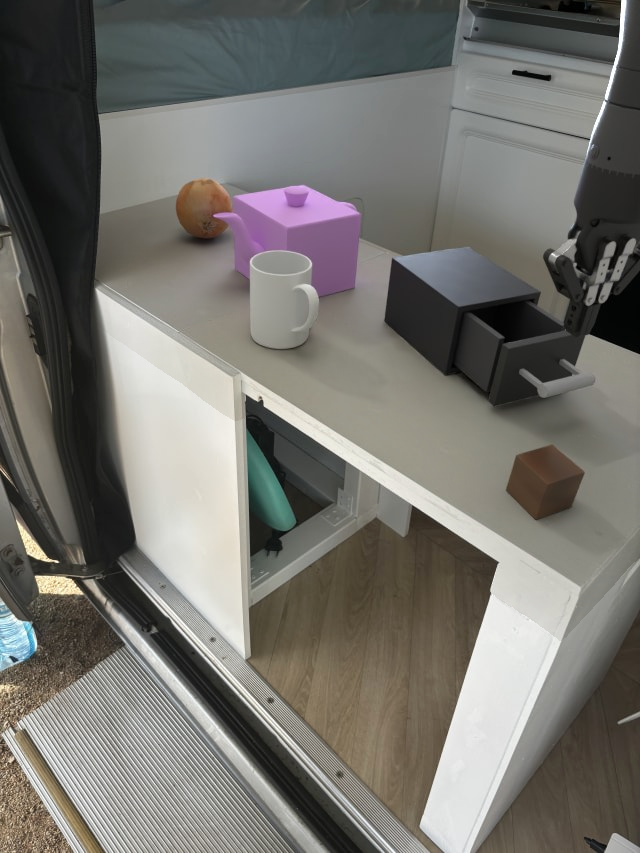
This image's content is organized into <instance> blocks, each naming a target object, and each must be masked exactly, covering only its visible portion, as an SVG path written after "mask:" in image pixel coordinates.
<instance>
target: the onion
mask: <svg viewBox="0 0 640 853" xmlns="http://www.w3.org/2000/svg"><path fill="white" fill-rule="evenodd" d="M175 213H176V216H177V219H178V222H179V224H180V225H181V227H182V228H183V229H184V230H185V231H186V232H187V233H188V234H190V235H191V236H194V237H196V238H197V239H213V238H216V237H218V236H220V235H222V233H224V232H225V231H226V230H227V229H228V228H229V227H230V226H229V224H227V223H226V222H225V221H223V220H221V219H219V218H216V217H214V216H213V215H215V214H218V213H233V201H232V199H231V196H230V194H229V193H228V191H227V190H226V189H225V188H224V187H223V186H222V185H221V184H220V183H218V182H217V181H216V180H214V179H212V178H207V177H200V178H197V179H194V180H191V181H189V182H187V183H185V184H184V185H183V186H182V187H181V188H180V190H179V192H178V194H177V196H176V200H175Z"/></svg>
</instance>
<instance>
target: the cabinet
mask: <svg viewBox="0 0 640 853" xmlns="http://www.w3.org/2000/svg"><path fill="white" fill-rule="evenodd" d="M389 271H390V272H389V279H388V288H387V295H386V303H385V311H384V319H383V320H384V322H385V323H386V324H387V325H388V326H389V327H390V328H392V330H394V331H395V332H396V333H397V334H398V335H399V336H400V337H401V338H403V339H404V340H405V341H406V343H408V344H409V345H410V346H412V347H413V348H414V349H415V350H416V351H417V352H419V353H420V355H422V356H423V357H424V358H425V359H426V360H427V361H428V362H429V363H431V365H433V366H434V367H435V368H436V369H437V370H438V371H439V372H440V373H442V374H443V376H448V375H453V374H458V373H461V372H462V371H461V370H460V369H459V368H458V367H456V366H455V365H454V364H453V363H452V362H453V357H454V352H455V347H456V342H457V337H458V332H459V327H460V323H461V318H462V313H463V312H465V311H470V310H475V309H481V308H486V307H491V306H497V305H502V304H507V303H513V302H518V301H524V300H529V301H531V302H532V303H534V304H535V305H537V306H538V305H539V300H540V298H541V293H542V291H540V290H539V289H537V288H536V287H534V286H532V285H531V284H529V283H528V282H526V281H525V280H523V279H521V278H520V277H518V276H516V275H515V274H513V273H512V272H510V271H508V270H506V269H505V268H503V267H502V266H500V265H498V264H497V263H495V262H494V261H492V260H490V259H488V258H487V257H485V256H484V255H482V254H480V253H479V252H477V251H476V250H475V249H472V248H471V247H469V246H464V247H457V248H449V249H444V250H443V249H442V250H436V251H428V252H421V253H420V252H419V253H414V254H413V253H412V254H408V255H407V254H406V255H401V256H400V255H399V256H392V257H391V264H390V270H389ZM462 373H463V372H462Z"/></svg>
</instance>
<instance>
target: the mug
mask: <svg viewBox="0 0 640 853" xmlns="http://www.w3.org/2000/svg"><path fill="white" fill-rule="evenodd" d="M311 277H312V262H311V260H310V259H309V258H308V257H306V256H304V255H302V254H299V253H296V252H291V251H282V250H278V251H266V252H262V253H259V254H257V255H255V256H254V257H252V258H251V260H250V280H249V309H250V310H249V312H250V313H249V316H250V317H249V318H250V320H249V322H250V336H251V339H253V341H254V343H257V344H258V345H260V346H262V347H265V348H269V349H273V350H274V349H275V350H287V349H292V348H293V349H294V348H297V347H299V346H301V345H302V344H304V343H306V342H307V340H308V339H309V335H310V328H312V327H313V325H314V324H315V323H316V321H317V319H318V315H319V311H320V297H318V294H317V292H316V290H315V289H314V287H312V286H311Z"/></svg>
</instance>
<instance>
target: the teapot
mask: <svg viewBox="0 0 640 853" xmlns="http://www.w3.org/2000/svg"><path fill="white" fill-rule="evenodd" d="M232 207H233V212H232V213H218V214H215V215H213V216H214V217H216V218H219V219H221V220H223V221H225V222H226V223H227V224H229V226H228V227H229V228H230V229H231V231H232V234H233V250H234V251H233V252H234V253H233V254H234V269H235V270H236V271H237V272H238V273H240V274H241V275H243V276H244V277H245V278H246V279H248V280H249V281H250V260H251V258H252V257H254V256H255V255H257V254H259V253H262V252H266V251H278V250H282V251H291V252H296V253H299V254H302V255H304V256H306V257H308V258H309V259H310V260H311V262H312V277H311V286H312V287H314V289H315V290H316V292H317V294H318V298H320V297H324V296H328V295H329V296H330V295H333V294H336V293H340V292H343V291H348V290H352V289H354V288H356V280H357V270H358V269H357V267H358V256H359V245H360V236H361V225H362V224H361V223H362V214H361V213H360V212H359V211H357V210H358V209H357V208H356V206H355V205H354V204H352V203H349V202H347V201H345V202H344V201H337V200H335V199H333V198H331V197H329V196H327V195H325V194H323V193H322V192H319V191H317V190H315V189H313V188H312V187H309V186H307V185H305V184H300V185H290V186H287V187H281V188H275V189H269V190H268V189H267V190H263V191H256V192H250V193H244V194H243V193H242V194H238V195H237V194H236V195H233V196H232Z"/></svg>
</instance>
